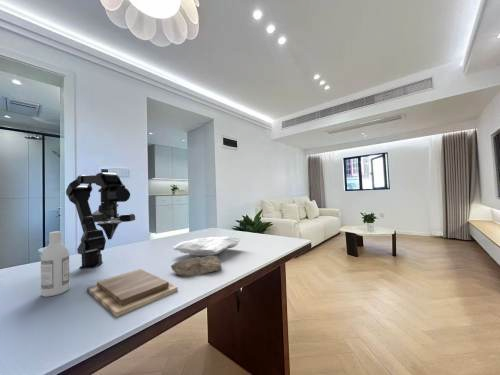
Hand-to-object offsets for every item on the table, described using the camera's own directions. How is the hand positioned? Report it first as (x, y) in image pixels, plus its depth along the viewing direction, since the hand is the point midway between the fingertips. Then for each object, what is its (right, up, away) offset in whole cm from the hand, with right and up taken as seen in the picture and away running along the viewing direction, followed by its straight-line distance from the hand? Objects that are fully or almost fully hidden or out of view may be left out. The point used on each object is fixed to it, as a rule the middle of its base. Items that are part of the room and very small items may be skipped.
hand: (109, 239), depth 89 cm
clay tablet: (+37, -13, -1) cm, 39 cm away
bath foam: (-6, -13, -19) cm, 24 cm away
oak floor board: (+20, -12, -19) cm, 30 cm away
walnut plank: (+13, -11, -13) cm, 21 cm away
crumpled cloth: (+38, -13, +20) cm, 45 cm away
